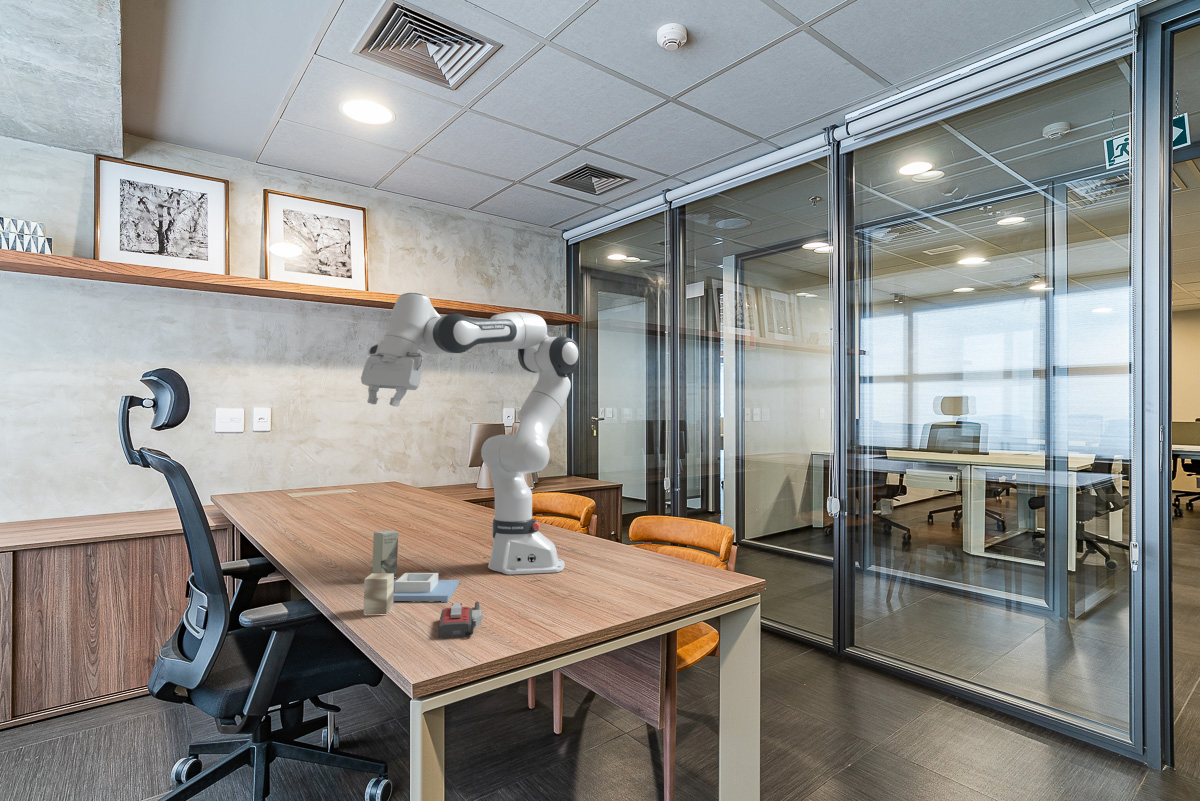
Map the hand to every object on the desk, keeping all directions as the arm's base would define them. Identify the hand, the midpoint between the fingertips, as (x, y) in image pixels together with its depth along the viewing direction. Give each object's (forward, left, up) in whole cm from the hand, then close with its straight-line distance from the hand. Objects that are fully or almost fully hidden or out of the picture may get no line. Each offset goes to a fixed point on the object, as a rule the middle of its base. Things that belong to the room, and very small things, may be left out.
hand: (382, 404), depth 150 cm
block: (-4, +12, -47) cm, 49 cm away
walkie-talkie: (-24, +19, -48) cm, 57 cm away
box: (+3, -15, -47) cm, 50 cm away
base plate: (-9, -2, -47) cm, 48 cm away
